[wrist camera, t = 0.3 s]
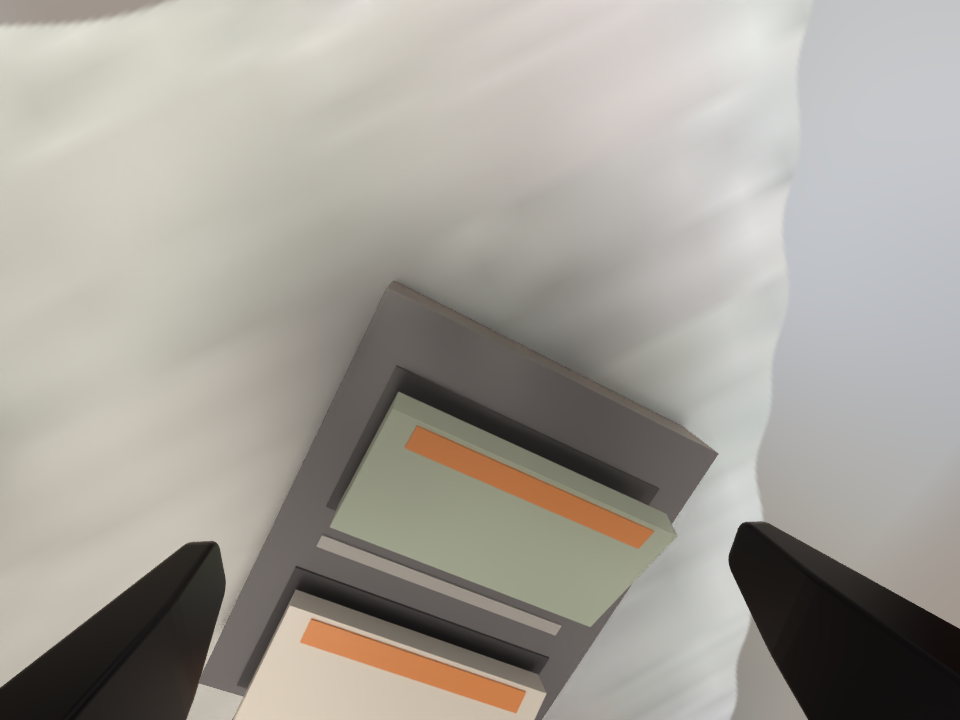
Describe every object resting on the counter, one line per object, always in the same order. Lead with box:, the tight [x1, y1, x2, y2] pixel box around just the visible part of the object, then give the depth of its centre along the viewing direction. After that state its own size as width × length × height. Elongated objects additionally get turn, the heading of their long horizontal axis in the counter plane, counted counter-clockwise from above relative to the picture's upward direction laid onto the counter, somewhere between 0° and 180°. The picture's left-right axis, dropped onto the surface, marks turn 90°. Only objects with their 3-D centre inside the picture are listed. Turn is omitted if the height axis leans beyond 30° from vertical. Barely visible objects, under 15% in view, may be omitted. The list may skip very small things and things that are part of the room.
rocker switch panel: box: [199, 281, 718, 720], centre depth 23 cm, size 20×16×3 cm
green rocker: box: [330, 392, 677, 627], centre depth 19 cm, size 6×12×2 cm, turn 62°
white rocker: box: [232, 590, 547, 720], centre depth 21 cm, size 6×12×2 cm, turn 62°
